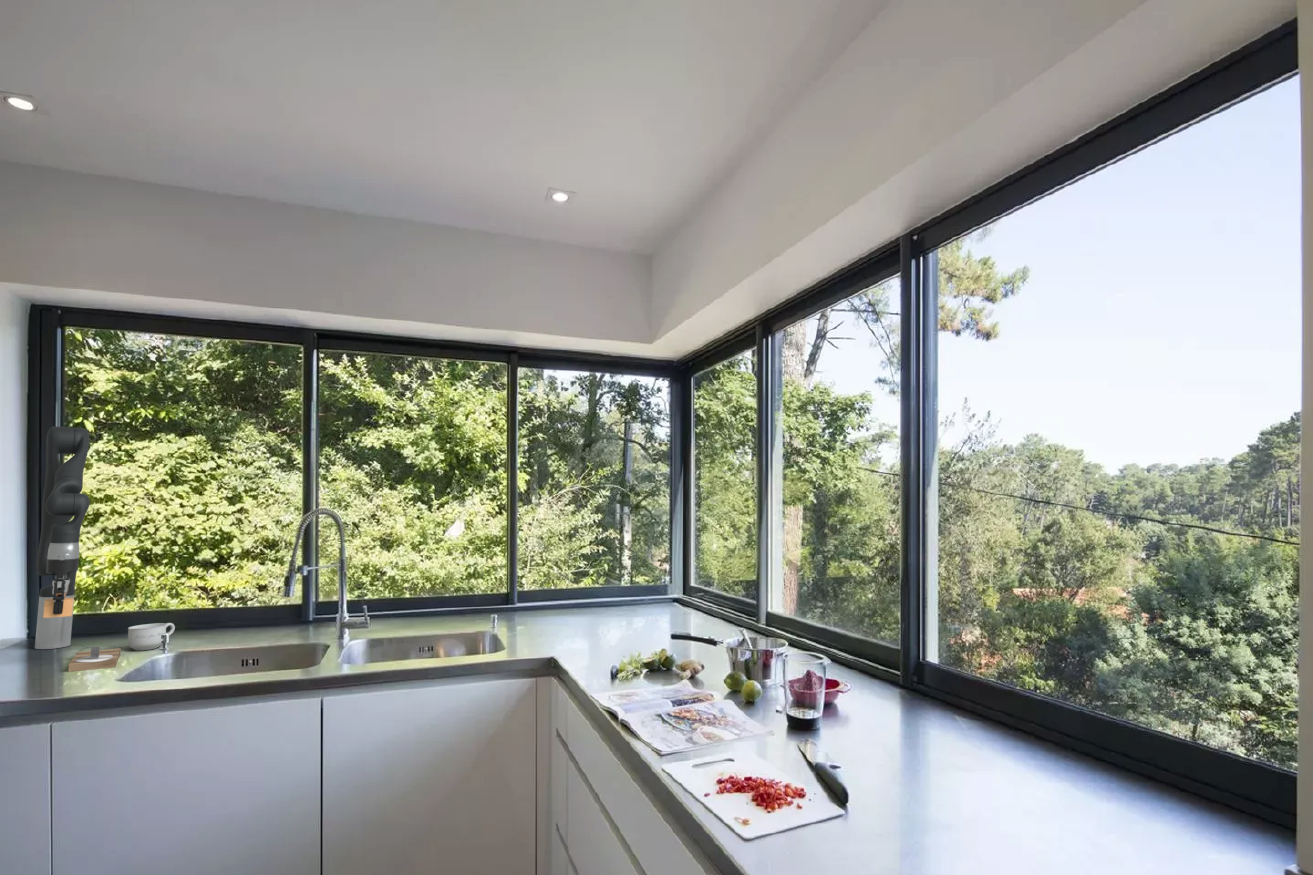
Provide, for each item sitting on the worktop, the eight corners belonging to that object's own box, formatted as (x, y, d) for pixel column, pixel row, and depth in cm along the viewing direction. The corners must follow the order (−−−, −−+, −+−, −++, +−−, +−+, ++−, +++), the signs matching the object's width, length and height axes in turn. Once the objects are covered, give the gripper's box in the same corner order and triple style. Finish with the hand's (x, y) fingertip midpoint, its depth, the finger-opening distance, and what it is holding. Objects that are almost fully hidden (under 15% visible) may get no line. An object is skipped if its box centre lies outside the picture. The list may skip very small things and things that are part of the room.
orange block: (43, 617, 213) (44, 601, 214) (44, 615, 218) (46, 599, 218) (71, 615, 217) (72, 599, 218) (72, 613, 221) (73, 597, 222)
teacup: (132, 653, 231) (134, 629, 232) (121, 649, 238) (123, 625, 238) (180, 647, 242) (182, 623, 243) (168, 642, 249) (170, 619, 249)
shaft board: (77, 658, 223) (78, 640, 224) (120, 654, 230) (121, 637, 230) (68, 671, 207) (69, 652, 207) (115, 667, 213) (116, 648, 213)
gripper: (49, 556, 222) (44, 610, 221) (45, 559, 211) (40, 617, 210) (80, 555, 227) (75, 608, 225) (77, 558, 216) (72, 614, 214)
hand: (58, 612), depth 218 cm, fingers closed on orange block, 5 cm apart
